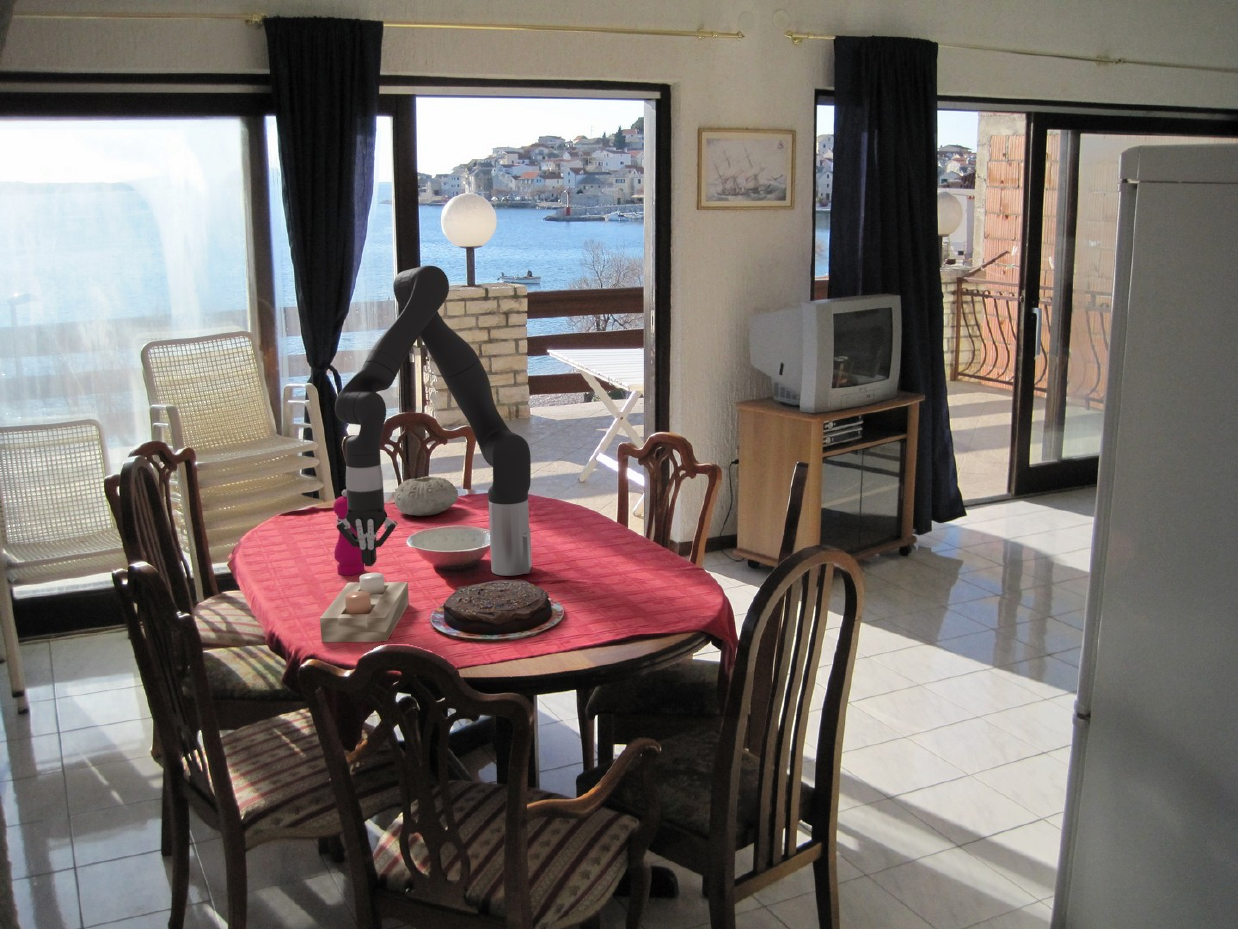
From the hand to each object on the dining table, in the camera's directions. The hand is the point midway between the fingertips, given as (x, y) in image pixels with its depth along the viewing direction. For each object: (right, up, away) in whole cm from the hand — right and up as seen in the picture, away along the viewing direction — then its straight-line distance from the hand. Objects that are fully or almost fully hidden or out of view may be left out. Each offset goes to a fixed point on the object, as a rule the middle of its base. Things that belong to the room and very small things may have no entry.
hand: (369, 565), depth 247 cm
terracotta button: (0, -8, -10) cm, 13 cm away
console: (0, -11, -4) cm, 12 cm away
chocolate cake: (+27, -11, -2) cm, 30 cm away
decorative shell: (-1, +8, +81) cm, 82 cm away
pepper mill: (-11, -4, +30) cm, 32 cm away
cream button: (0, -6, +1) cm, 6 cm away
